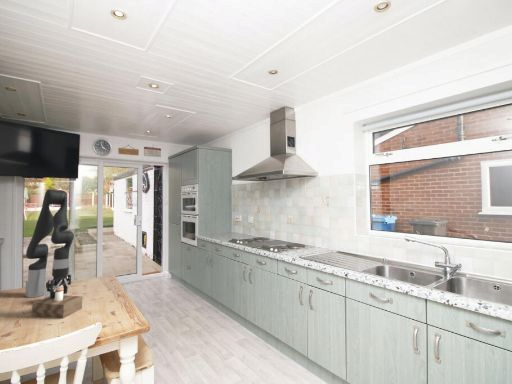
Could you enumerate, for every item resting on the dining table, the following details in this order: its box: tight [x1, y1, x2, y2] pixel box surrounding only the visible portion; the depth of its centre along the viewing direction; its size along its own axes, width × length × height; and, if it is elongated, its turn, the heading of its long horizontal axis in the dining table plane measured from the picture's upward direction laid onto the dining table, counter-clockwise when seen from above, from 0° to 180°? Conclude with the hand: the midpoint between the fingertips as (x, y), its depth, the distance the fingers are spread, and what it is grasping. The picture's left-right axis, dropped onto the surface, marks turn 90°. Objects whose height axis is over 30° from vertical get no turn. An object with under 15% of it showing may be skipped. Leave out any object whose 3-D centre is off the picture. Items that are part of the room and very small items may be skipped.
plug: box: [54, 286, 64, 301], centre depth 153 cm, size 4×4×13 cm
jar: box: [43, 281, 63, 299], centre depth 169 cm, size 9×8×12 cm
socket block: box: [31, 294, 84, 319], centre depth 153 cm, size 18×14×7 cm
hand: (58, 296), depth 153 cm, fingers open, 8 cm apart
